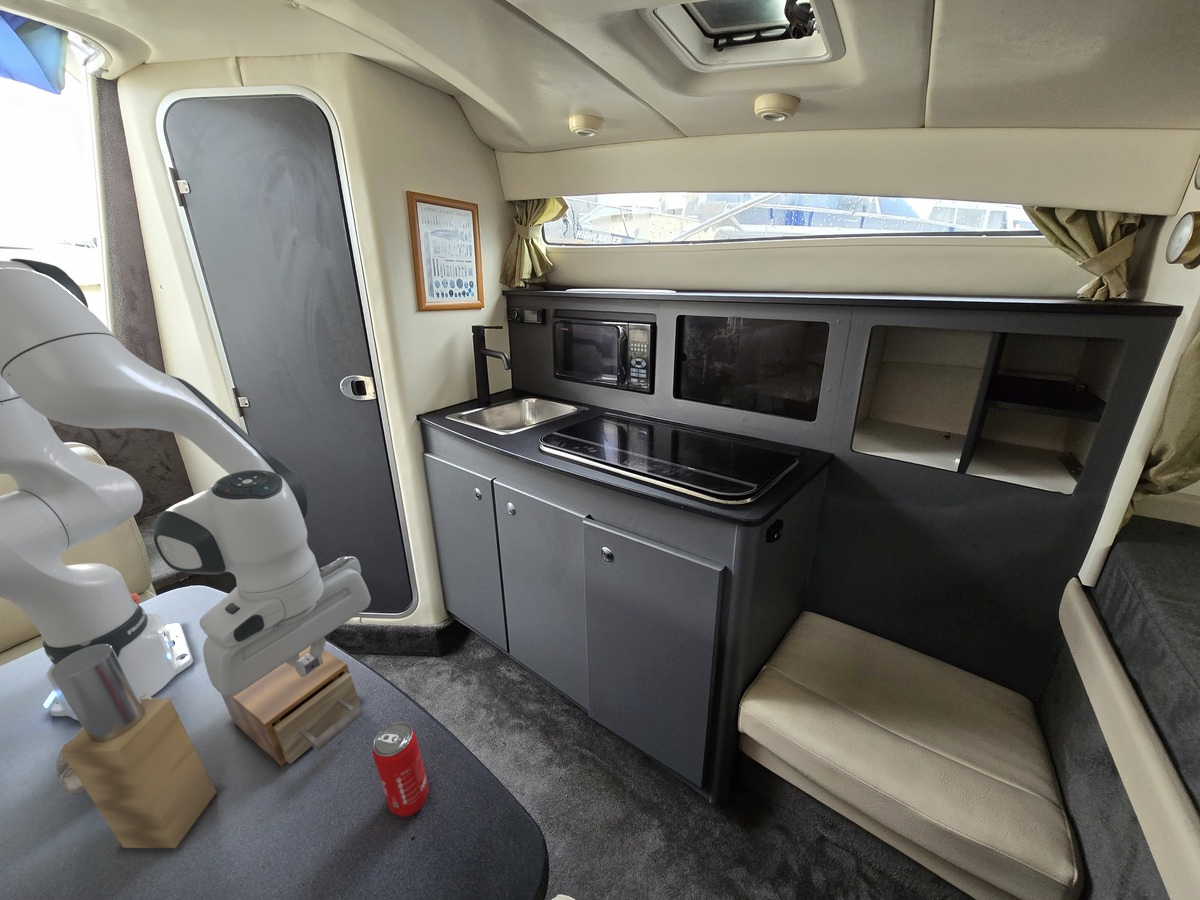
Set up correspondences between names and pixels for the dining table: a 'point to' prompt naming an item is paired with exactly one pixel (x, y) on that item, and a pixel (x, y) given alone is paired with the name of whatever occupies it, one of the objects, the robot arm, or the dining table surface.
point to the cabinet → (278, 699)
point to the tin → (98, 692)
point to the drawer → (318, 718)
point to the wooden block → (144, 778)
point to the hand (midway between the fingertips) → (310, 668)
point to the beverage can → (400, 769)
